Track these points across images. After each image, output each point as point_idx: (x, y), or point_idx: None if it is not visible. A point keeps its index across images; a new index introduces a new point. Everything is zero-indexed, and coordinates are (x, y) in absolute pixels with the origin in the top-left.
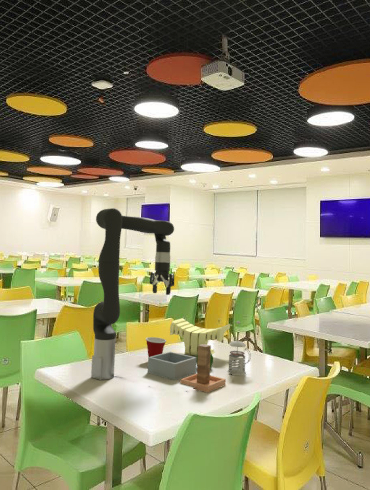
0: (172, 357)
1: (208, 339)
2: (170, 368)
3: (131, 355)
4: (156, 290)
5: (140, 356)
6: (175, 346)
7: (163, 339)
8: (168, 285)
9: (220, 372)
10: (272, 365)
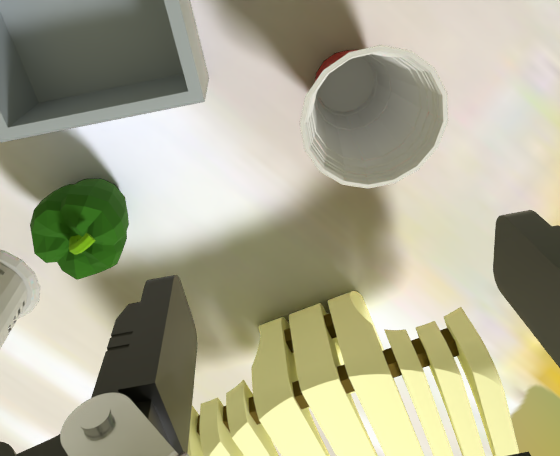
0: (172, 87)
1: (235, 390)
2: None
3: (534, 58)
4: (519, 302)
5: (482, 89)
6: (489, 339)
7: (365, 182)
8: (64, 447)
9: (24, 234)
10: (28, 446)
